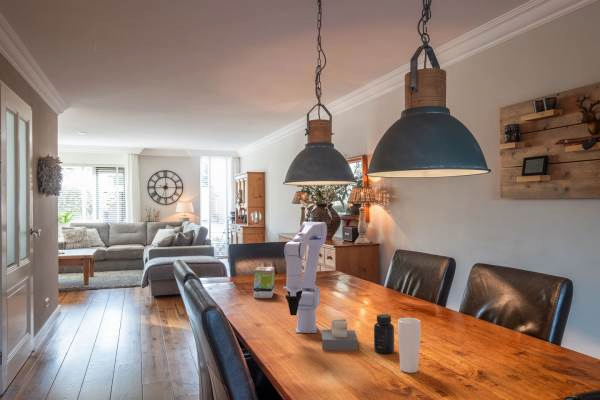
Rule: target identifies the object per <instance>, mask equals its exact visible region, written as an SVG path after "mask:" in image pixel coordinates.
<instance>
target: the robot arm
mask: <svg viewBox="0 0 600 400" xmlns="http://www.w3.org/2000/svg"><path fill="white" fill-rule="evenodd" d="M327 234H328V226H327V223H326V222H325V221H303V222H302V223H301V227H300V232H298V233H297V234H296V235H295V236H294V237H293V238H292V240H291V241H288V242H286V243H284V244H285V245H284V249H283V252H284V253H283V254H284V257H285V259H284V261H285V262H286V280H285V281H286V286H283V287H282V289H283V290H286V292H287V294H285V300H286V302H287V305H288V310H289V311H288V312H289V315H290V316H297V317H296V318H297V321H296V322H297V324H296V329H295V333H296V334H300V333H301V334H304V333H305V334H310V333H311V334H316V333H317V331H318V328H317V327H318V326H317V325H316V324H317V323H316V322H317V320H316V319H317V315H316V314H317V313H316V312H317V308H318V307H319V306H320V304H321V289H320V287H319V286H318V285H317V284H316V278H317V272H318V265H319V259H320V252H321V248H322V246H323V245H325V244H326V240H327V236H328V235H327ZM307 247H308V250H307V255H306V263H305V267H304V274H303V258H304V256H305V254H306V248H307Z"/></svg>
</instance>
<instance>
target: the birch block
mask: <svg viewBox="0 0 600 400" xmlns="http://www.w3.org/2000/svg"><path fill="white" fill-rule="evenodd" d="M330 320H331V321H330V322H331V325H330V326H331V327H330V330H331V333H332V336H333V337H347V330H348V322H347V319H346V318H331V319H330Z"/></svg>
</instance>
